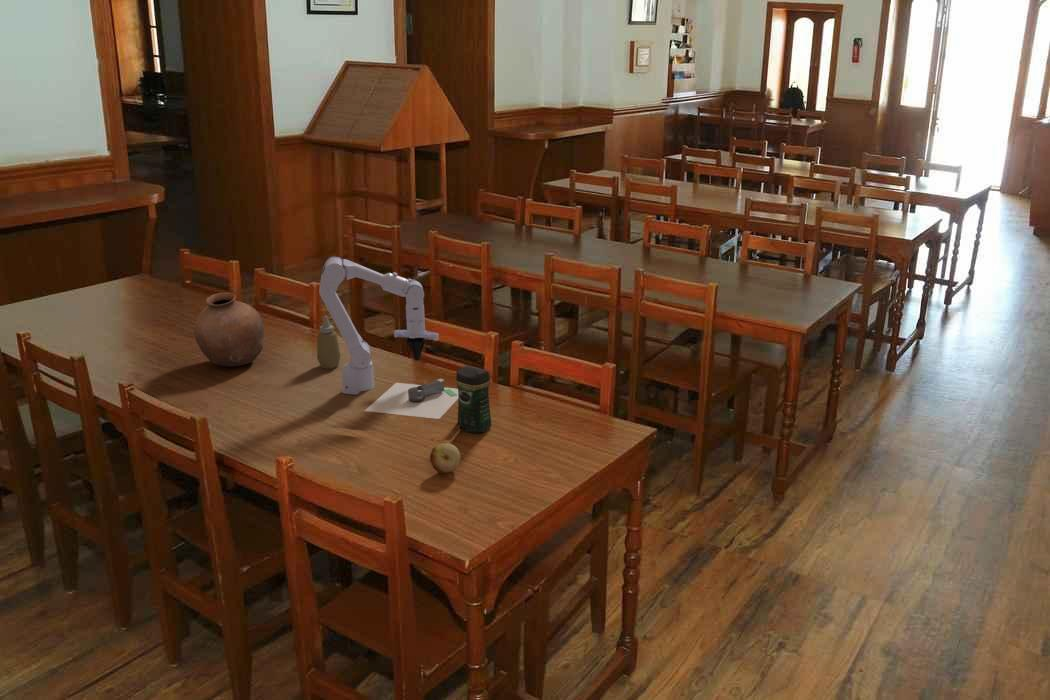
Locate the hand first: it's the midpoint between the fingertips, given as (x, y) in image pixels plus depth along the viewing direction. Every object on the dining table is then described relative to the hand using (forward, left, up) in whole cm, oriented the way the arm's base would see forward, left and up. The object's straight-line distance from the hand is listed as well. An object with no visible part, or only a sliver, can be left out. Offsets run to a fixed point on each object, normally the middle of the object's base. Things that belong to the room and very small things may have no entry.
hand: (417, 359), depth 305 cm
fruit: (+30, -55, -10) cm, 63 cm away
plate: (+5, -14, -9) cm, 18 cm away
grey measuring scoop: (+7, -11, -8) cm, 15 cm away
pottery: (-71, +4, -10) cm, 72 cm away
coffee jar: (+28, -26, -10) cm, 39 cm away
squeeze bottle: (-37, +10, -10) cm, 40 cm away
